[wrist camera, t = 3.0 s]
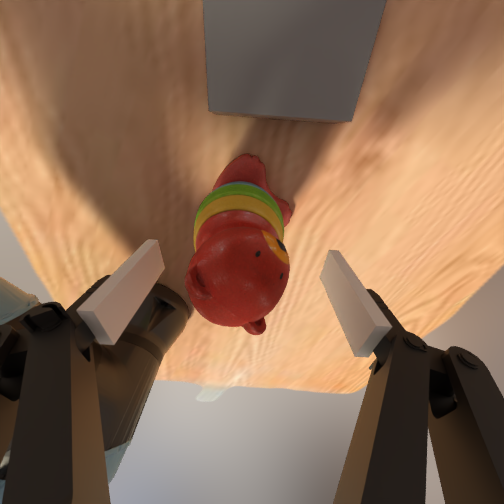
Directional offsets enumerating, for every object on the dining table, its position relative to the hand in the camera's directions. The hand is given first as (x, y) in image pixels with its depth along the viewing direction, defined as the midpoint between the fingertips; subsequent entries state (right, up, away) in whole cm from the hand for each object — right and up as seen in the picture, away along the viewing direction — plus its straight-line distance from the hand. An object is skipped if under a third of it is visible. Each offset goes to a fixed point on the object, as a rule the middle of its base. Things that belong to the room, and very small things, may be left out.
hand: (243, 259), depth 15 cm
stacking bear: (0, +7, +11) cm, 13 cm away
